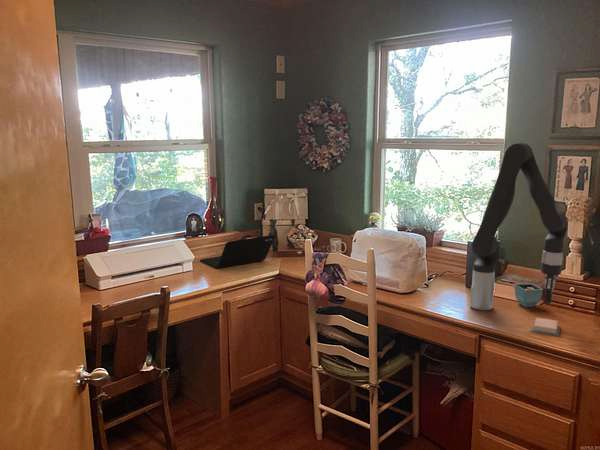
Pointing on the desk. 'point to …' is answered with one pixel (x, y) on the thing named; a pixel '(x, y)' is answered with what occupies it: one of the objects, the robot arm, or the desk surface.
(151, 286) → the desk surface
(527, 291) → the flower pot
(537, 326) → the tile
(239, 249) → the laptop
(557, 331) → the mat
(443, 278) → the desk surface
